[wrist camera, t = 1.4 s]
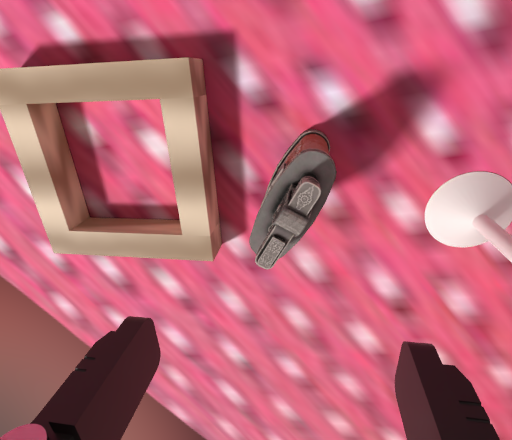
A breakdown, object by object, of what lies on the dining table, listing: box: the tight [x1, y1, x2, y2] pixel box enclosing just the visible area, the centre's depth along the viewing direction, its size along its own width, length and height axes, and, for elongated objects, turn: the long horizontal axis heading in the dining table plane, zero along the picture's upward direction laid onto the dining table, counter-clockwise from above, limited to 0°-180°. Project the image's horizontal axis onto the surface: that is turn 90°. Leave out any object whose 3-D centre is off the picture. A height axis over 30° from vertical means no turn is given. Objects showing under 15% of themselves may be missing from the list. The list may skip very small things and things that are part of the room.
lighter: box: [249, 129, 336, 269], centre depth 22 cm, size 8×3×10 cm, turn 153°
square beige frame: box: [0, 57, 222, 261], centre depth 27 cm, size 16×16×3 cm
